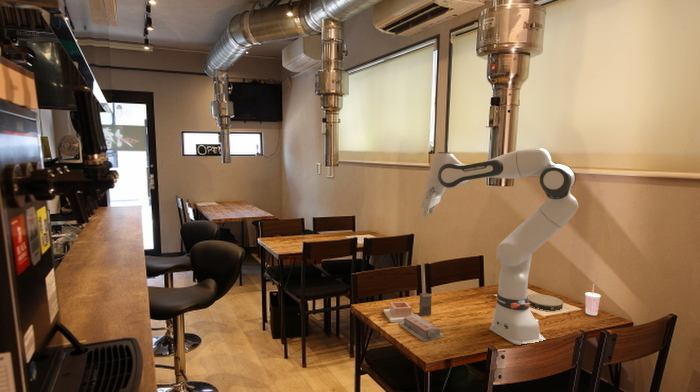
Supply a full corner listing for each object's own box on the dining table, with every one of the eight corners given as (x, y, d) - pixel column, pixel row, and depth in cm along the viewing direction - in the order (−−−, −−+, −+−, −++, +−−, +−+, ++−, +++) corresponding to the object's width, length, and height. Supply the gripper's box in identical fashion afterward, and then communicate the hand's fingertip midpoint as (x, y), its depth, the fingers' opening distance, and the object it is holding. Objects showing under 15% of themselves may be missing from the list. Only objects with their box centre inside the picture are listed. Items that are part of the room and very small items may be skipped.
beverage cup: (584, 314, 188) (586, 284, 186) (583, 310, 193) (585, 281, 192) (599, 317, 185) (602, 286, 184) (598, 312, 190) (601, 283, 189)
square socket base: (417, 320, 177) (418, 309, 177) (390, 322, 175) (391, 310, 175) (408, 310, 189) (409, 299, 188) (383, 311, 187) (383, 300, 186)
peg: (430, 315, 184) (431, 296, 183) (422, 316, 183) (423, 296, 182) (427, 312, 187) (428, 293, 187) (419, 312, 187) (419, 293, 186)
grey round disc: (562, 303, 203) (562, 297, 202) (562, 314, 189) (563, 307, 188) (527, 297, 210) (527, 292, 209) (525, 307, 195) (525, 301, 195)
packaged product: (444, 326, 161) (424, 331, 157) (444, 338, 162) (423, 343, 157) (418, 311, 177) (398, 314, 173) (417, 321, 178) (398, 325, 173)
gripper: (436, 191, 175) (428, 221, 179) (447, 186, 194) (439, 213, 197) (422, 186, 178) (414, 216, 181) (434, 182, 196) (427, 209, 199)
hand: (427, 214), depth 189 cm, fingers open, 8 cm apart
